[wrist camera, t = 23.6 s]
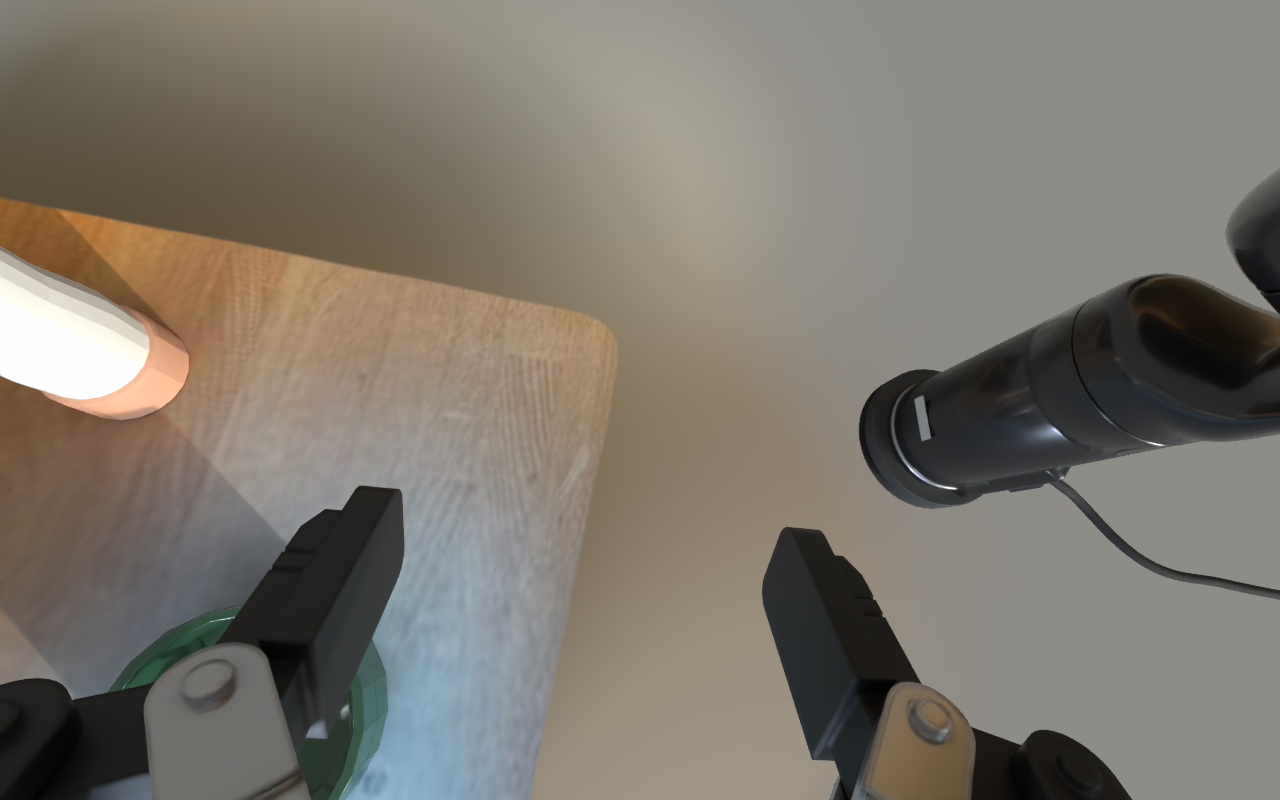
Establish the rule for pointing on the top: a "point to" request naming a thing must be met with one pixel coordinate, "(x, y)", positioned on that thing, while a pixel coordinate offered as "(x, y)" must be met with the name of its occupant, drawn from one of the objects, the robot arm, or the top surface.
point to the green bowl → (321, 761)
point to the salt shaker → (84, 345)
